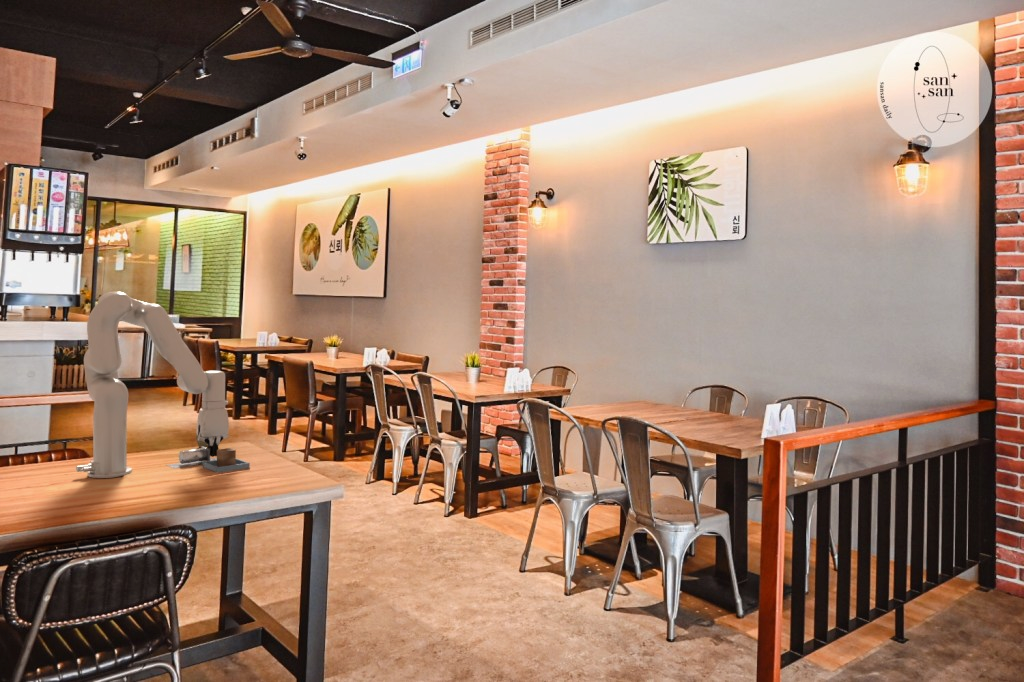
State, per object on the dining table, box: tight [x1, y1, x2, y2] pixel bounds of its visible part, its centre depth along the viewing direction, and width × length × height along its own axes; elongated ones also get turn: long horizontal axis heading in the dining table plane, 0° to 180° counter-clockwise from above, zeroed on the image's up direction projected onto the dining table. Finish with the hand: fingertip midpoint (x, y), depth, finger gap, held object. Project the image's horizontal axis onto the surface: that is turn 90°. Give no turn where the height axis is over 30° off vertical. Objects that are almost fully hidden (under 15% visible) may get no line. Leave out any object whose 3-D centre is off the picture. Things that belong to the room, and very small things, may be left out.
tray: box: [202, 457, 251, 475], centre depth 239 cm, size 11×11×2 cm
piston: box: [178, 447, 211, 464], centre depth 244 cm, size 9×5×5 cm, turn 138°
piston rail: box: [166, 457, 217, 470], centre depth 245 cm, size 18×7×1 cm, turn 138°
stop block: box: [216, 447, 237, 467], centre depth 239 cm, size 4×4×6 cm
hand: (213, 455), depth 249 cm, fingers closed
